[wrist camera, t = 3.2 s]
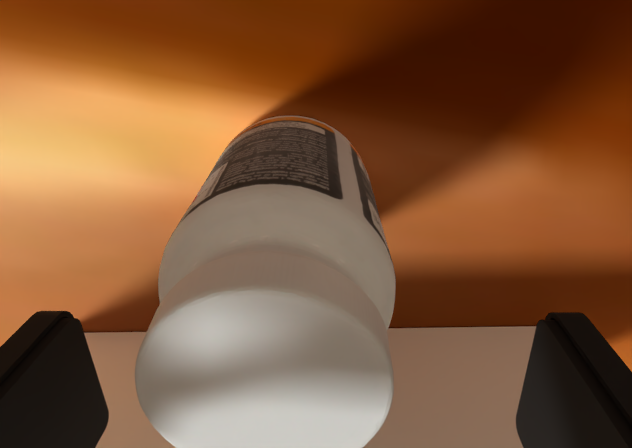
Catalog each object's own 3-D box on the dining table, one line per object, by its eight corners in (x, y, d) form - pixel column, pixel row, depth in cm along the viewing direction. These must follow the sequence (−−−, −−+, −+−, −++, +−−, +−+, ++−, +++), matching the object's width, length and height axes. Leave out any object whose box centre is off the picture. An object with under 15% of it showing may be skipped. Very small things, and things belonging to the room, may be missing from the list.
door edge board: (58, 333, 20) (-62, 483, 14) (552, 326, 19) (660, 479, 13) (75, 378, 21) (-27, 535, 15) (540, 373, 21) (633, 534, 14)
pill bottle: (194, 212, 17) (58, 436, 8) (259, 79, 15) (168, 195, 6) (321, 274, 18) (319, 527, 10) (399, 159, 16) (492, 353, 7)
